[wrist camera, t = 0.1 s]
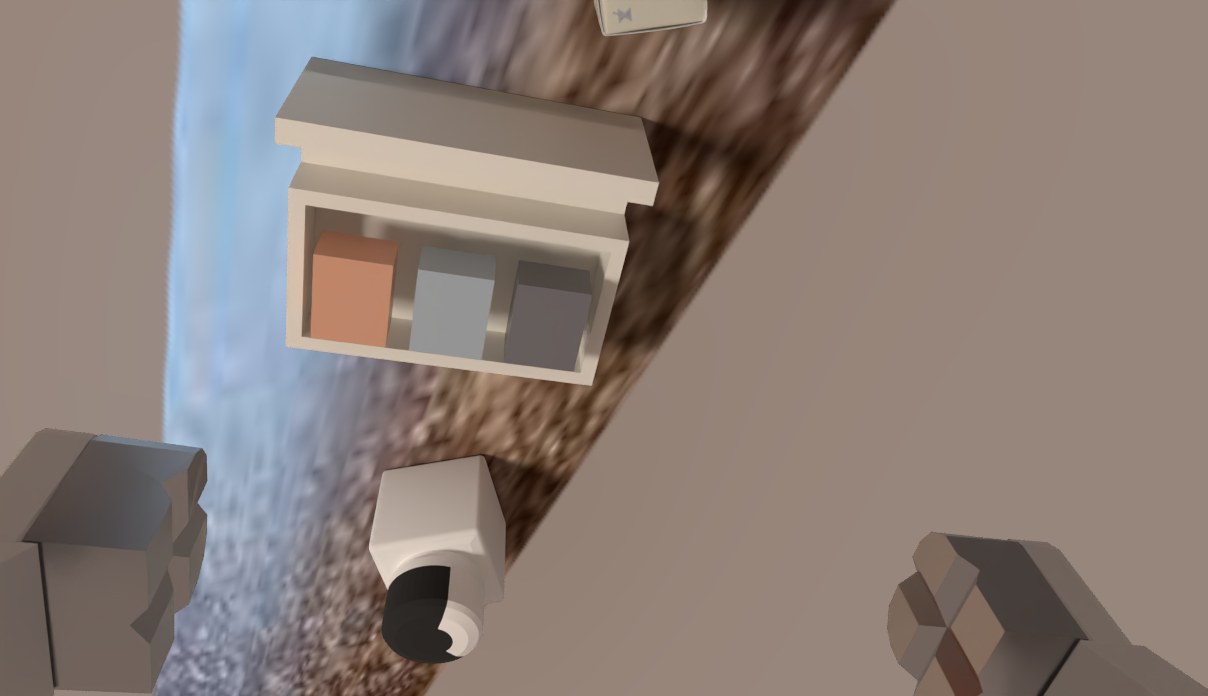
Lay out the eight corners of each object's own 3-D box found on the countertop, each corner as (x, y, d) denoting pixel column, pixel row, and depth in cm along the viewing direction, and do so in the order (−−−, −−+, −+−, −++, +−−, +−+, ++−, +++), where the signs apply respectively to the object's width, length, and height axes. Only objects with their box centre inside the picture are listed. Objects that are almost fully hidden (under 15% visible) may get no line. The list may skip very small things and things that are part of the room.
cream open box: (311, 56, 45) (275, 117, 38) (641, 117, 48) (658, 183, 41) (304, 297, 53) (273, 380, 46) (586, 336, 56) (594, 419, 50)
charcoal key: (518, 259, 47) (518, 284, 45) (589, 270, 48) (592, 294, 46) (504, 337, 50) (503, 362, 48) (571, 346, 51) (573, 371, 49)
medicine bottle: (410, 539, 66) (390, 685, 56) (381, 468, 61) (354, 613, 52) (507, 523, 65) (503, 667, 56) (484, 452, 61) (476, 594, 51)
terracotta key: (322, 230, 45) (313, 254, 44) (398, 241, 46) (393, 265, 44) (319, 311, 48) (310, 337, 46) (391, 321, 49) (385, 347, 47)
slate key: (422, 245, 46) (418, 269, 44) (496, 256, 47) (494, 280, 45) (413, 324, 49) (408, 350, 47) (483, 334, 50) (481, 359, 48)
